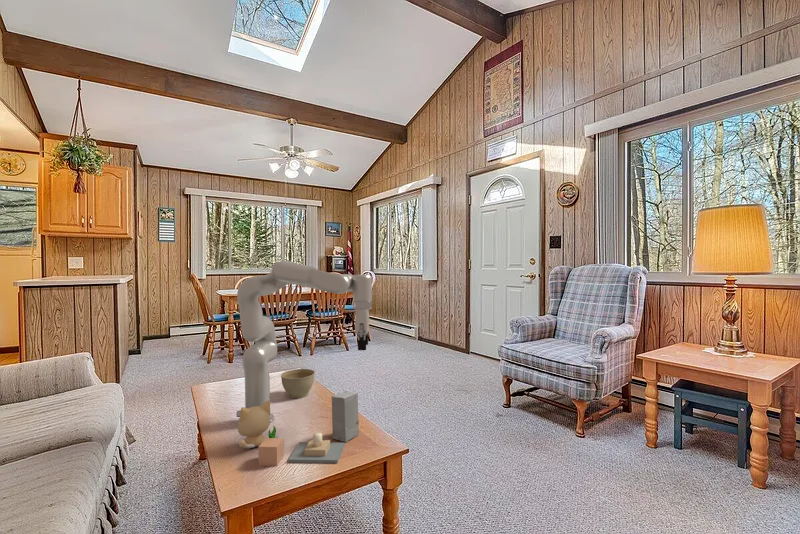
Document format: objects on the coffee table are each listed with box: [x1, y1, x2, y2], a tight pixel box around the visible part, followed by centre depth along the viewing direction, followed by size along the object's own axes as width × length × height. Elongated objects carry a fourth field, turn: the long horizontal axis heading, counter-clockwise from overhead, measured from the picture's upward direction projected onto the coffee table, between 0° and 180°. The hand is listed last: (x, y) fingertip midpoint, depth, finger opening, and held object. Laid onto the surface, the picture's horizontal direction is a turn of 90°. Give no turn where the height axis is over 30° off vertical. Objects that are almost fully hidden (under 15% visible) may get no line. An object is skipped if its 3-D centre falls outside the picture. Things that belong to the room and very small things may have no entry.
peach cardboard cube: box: [258, 437, 285, 467], centre depth 124 cm, size 6×6×6 cm
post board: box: [288, 432, 346, 464], centre depth 128 cm, size 16×12×6 cm
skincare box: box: [331, 390, 360, 444], centre depth 141 cm, size 8×7×16 cm
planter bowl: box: [280, 368, 316, 399], centre depth 187 cm, size 16×16×11 cm
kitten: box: [237, 400, 277, 449], centre depth 136 cm, size 15×10×15 cm, turn 133°
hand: (363, 347), depth 153 cm, fingers open, 9 cm apart
